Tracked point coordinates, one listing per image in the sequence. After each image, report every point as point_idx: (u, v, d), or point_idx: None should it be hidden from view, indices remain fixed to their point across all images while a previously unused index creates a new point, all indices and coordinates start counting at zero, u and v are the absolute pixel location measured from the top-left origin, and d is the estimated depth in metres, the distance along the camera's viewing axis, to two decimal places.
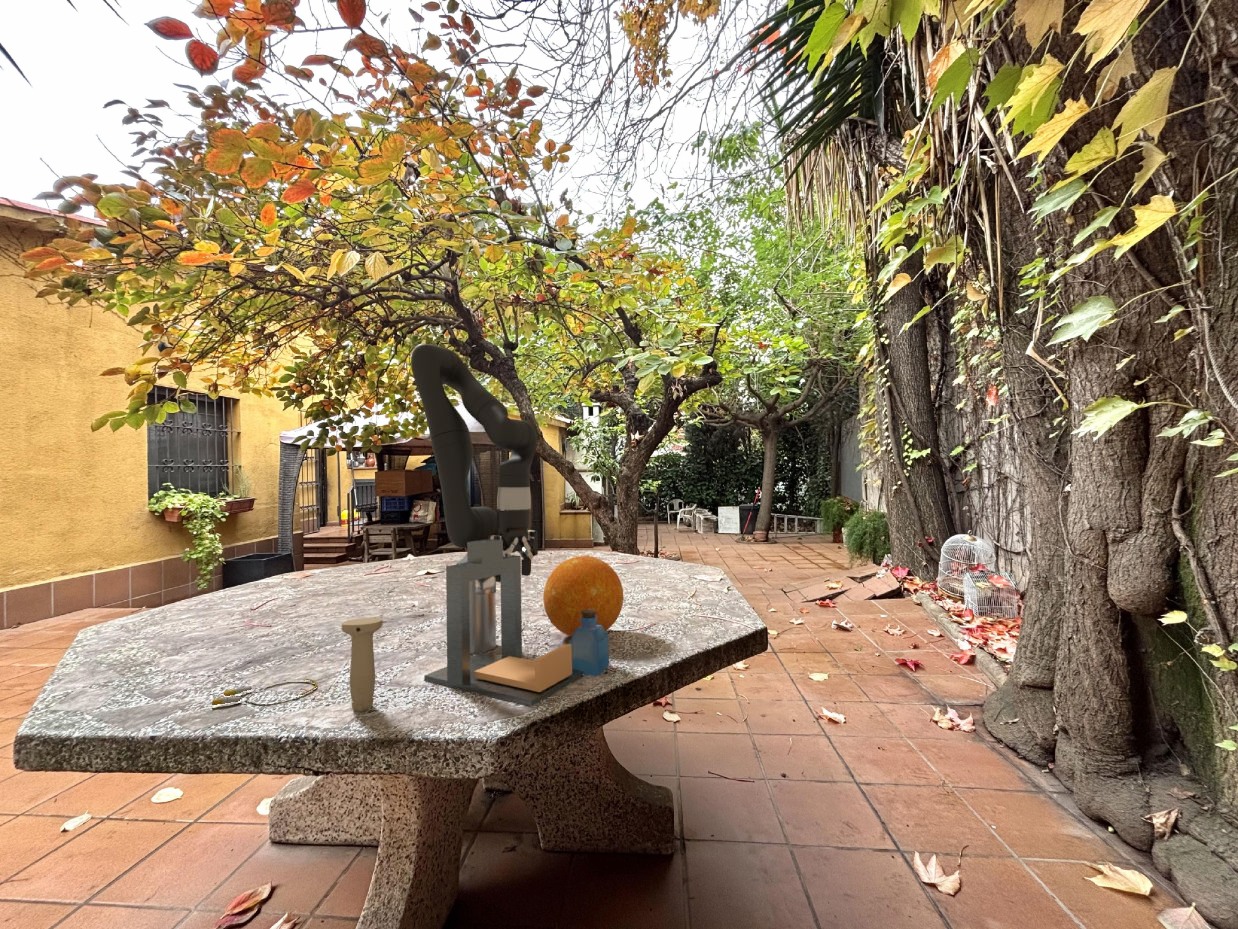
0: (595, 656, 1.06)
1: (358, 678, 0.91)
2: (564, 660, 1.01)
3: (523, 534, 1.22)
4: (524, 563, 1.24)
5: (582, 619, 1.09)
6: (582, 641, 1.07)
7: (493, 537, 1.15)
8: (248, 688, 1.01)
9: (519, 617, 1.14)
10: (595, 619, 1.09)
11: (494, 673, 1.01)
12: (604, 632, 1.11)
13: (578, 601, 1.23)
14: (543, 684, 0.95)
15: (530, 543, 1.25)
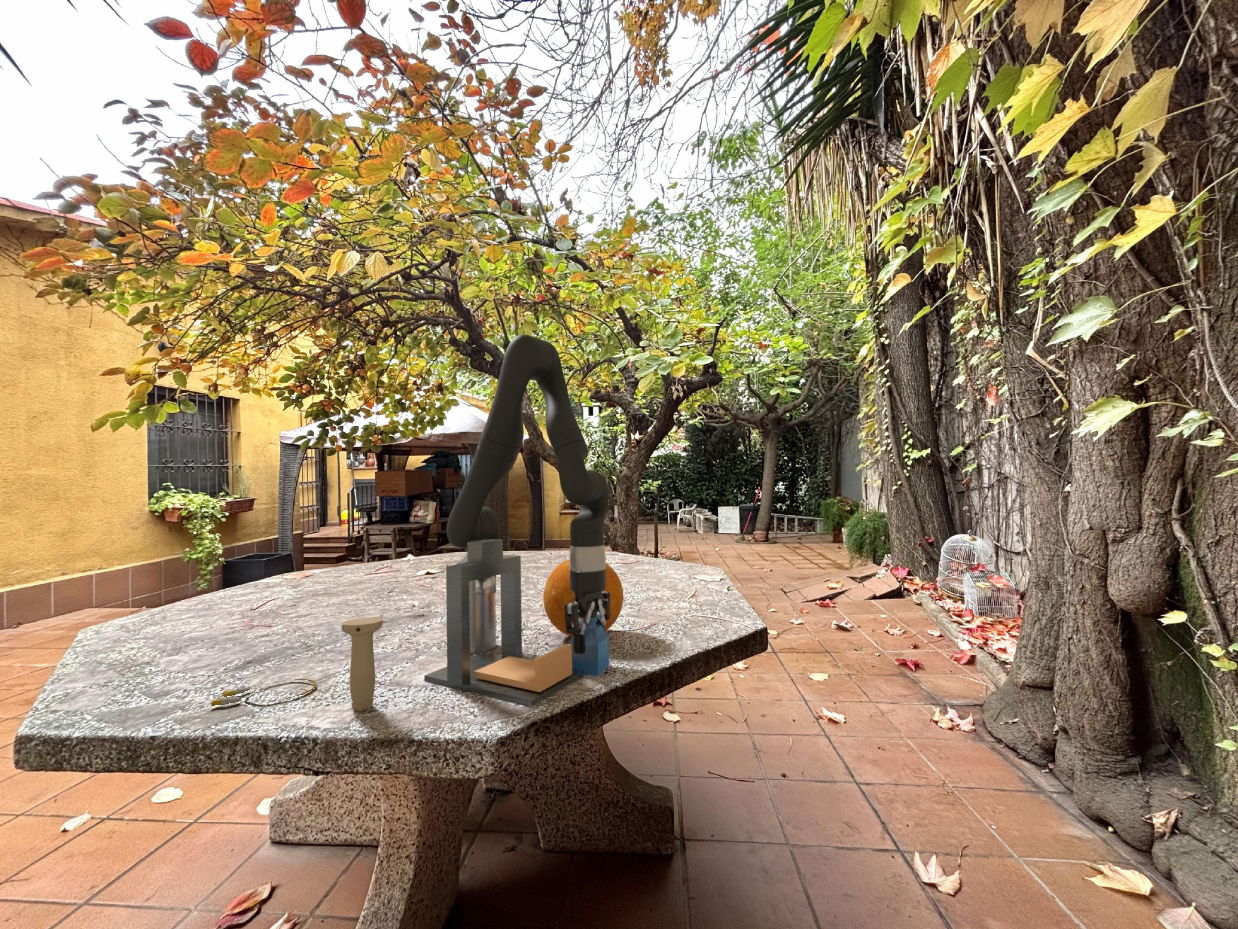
0: (595, 656, 1.06)
1: (358, 678, 0.91)
2: (564, 660, 1.01)
3: (598, 596, 1.11)
4: None
5: None
6: None
7: (570, 606, 1.04)
8: (247, 689, 1.00)
9: (519, 617, 1.14)
10: (595, 619, 1.09)
11: (494, 673, 1.01)
12: (604, 632, 1.11)
13: None
14: (543, 684, 0.95)
15: (602, 606, 1.15)
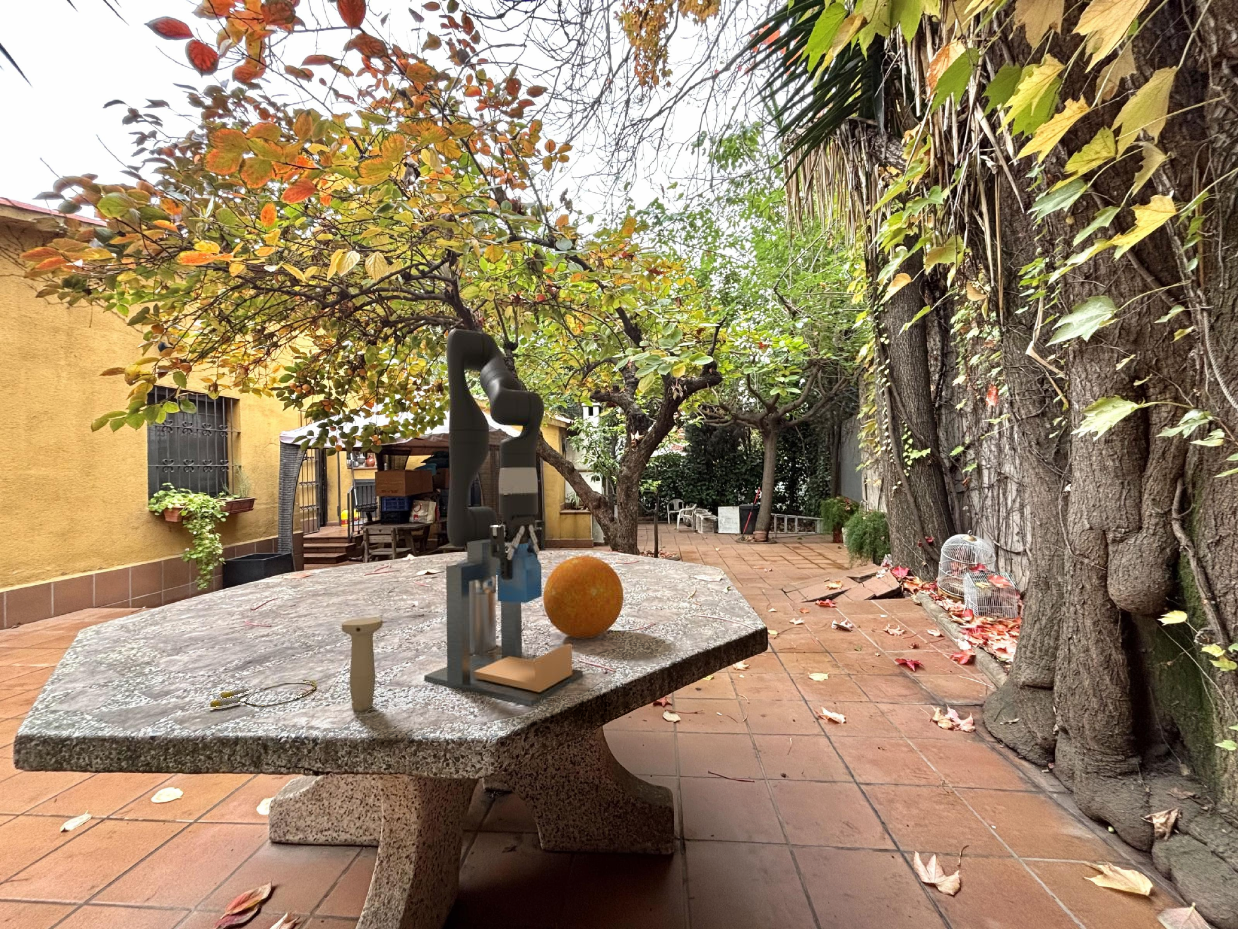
0: (523, 582, 1.00)
1: (358, 678, 0.91)
2: (564, 660, 1.01)
3: (530, 522, 1.05)
4: None
5: None
6: None
7: (496, 528, 0.98)
8: (245, 690, 1.00)
9: (519, 617, 1.14)
10: (525, 545, 1.03)
11: (494, 673, 1.01)
12: (536, 560, 1.05)
13: (578, 601, 1.23)
14: (543, 684, 0.95)
15: (536, 535, 1.09)
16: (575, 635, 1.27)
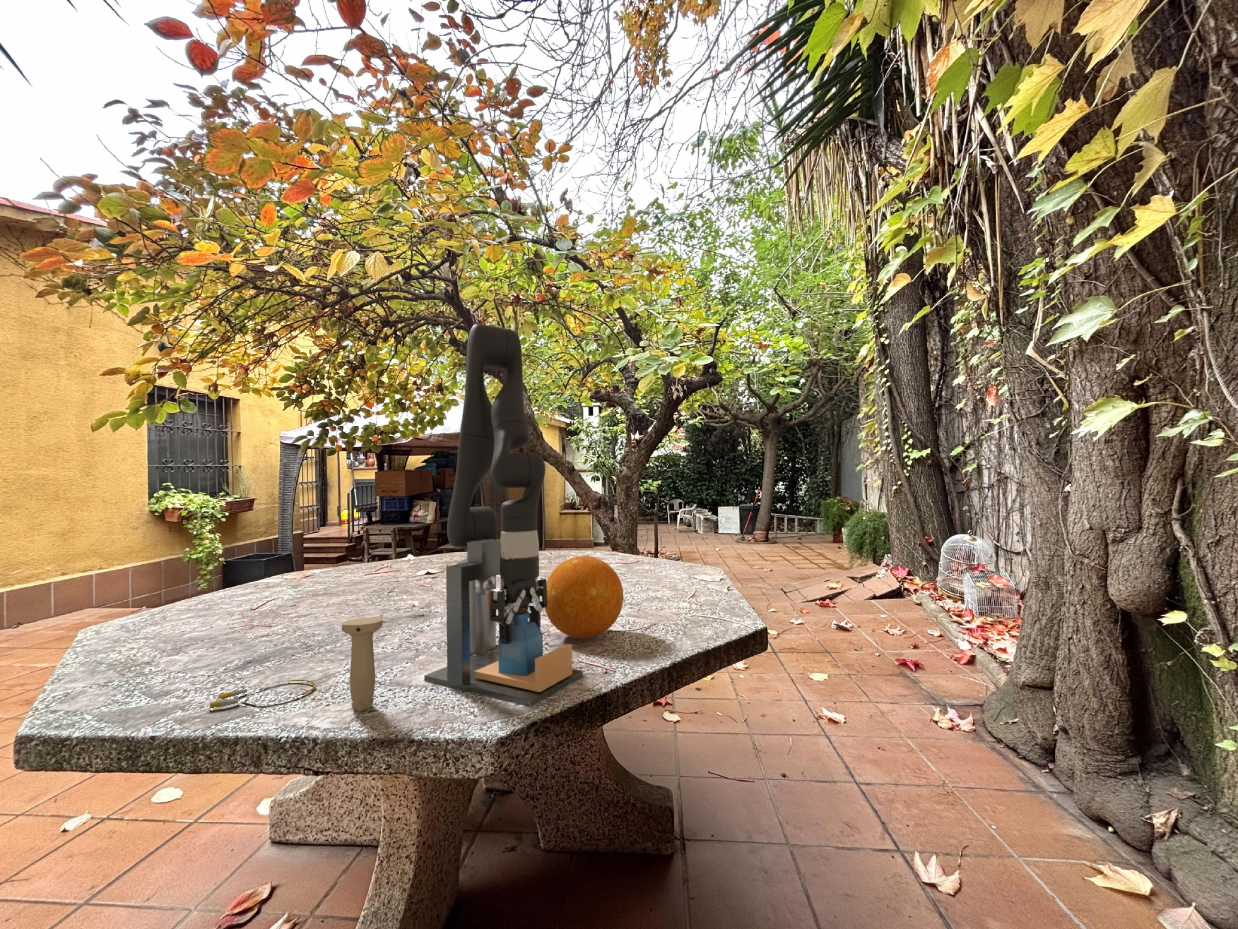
0: (524, 655, 1.00)
1: (358, 678, 0.91)
2: (564, 660, 1.01)
3: (531, 584, 1.05)
4: (532, 617, 1.07)
5: None
6: None
7: (497, 592, 0.98)
8: (244, 690, 0.99)
9: None
10: (526, 615, 1.03)
11: (494, 673, 1.01)
12: (537, 630, 1.04)
13: (578, 601, 1.23)
14: (543, 684, 0.95)
15: (538, 593, 1.09)
16: (575, 635, 1.27)
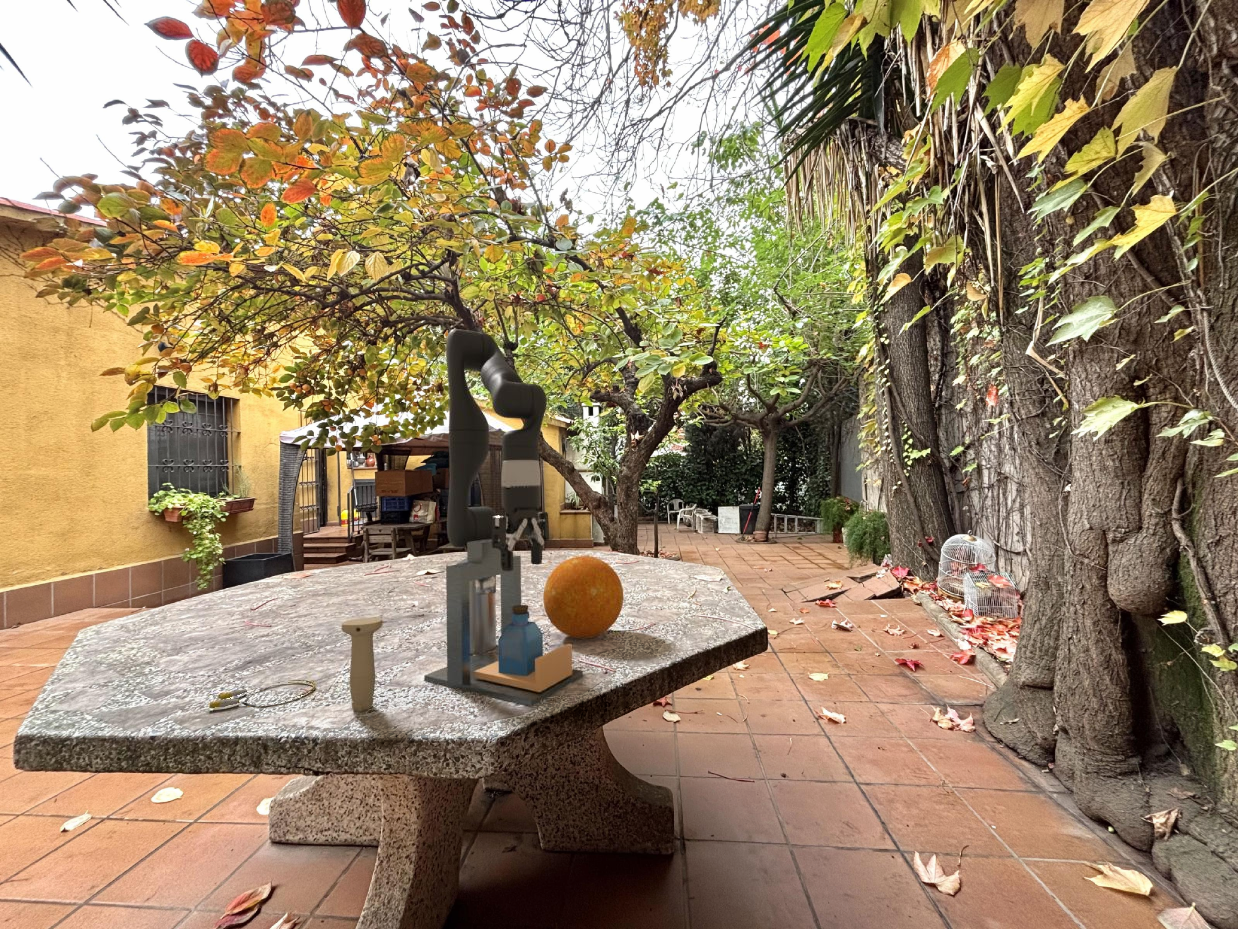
0: (524, 655, 1.00)
1: (358, 678, 0.91)
2: (564, 660, 1.01)
3: (532, 515, 1.05)
4: (534, 550, 1.07)
5: (512, 615, 1.02)
6: (511, 639, 1.01)
7: (498, 518, 0.98)
8: (243, 691, 0.99)
9: None
10: (526, 615, 1.03)
11: (494, 673, 1.01)
12: (537, 630, 1.04)
13: (578, 601, 1.23)
14: (543, 684, 0.95)
15: (540, 527, 1.09)
16: (575, 635, 1.27)
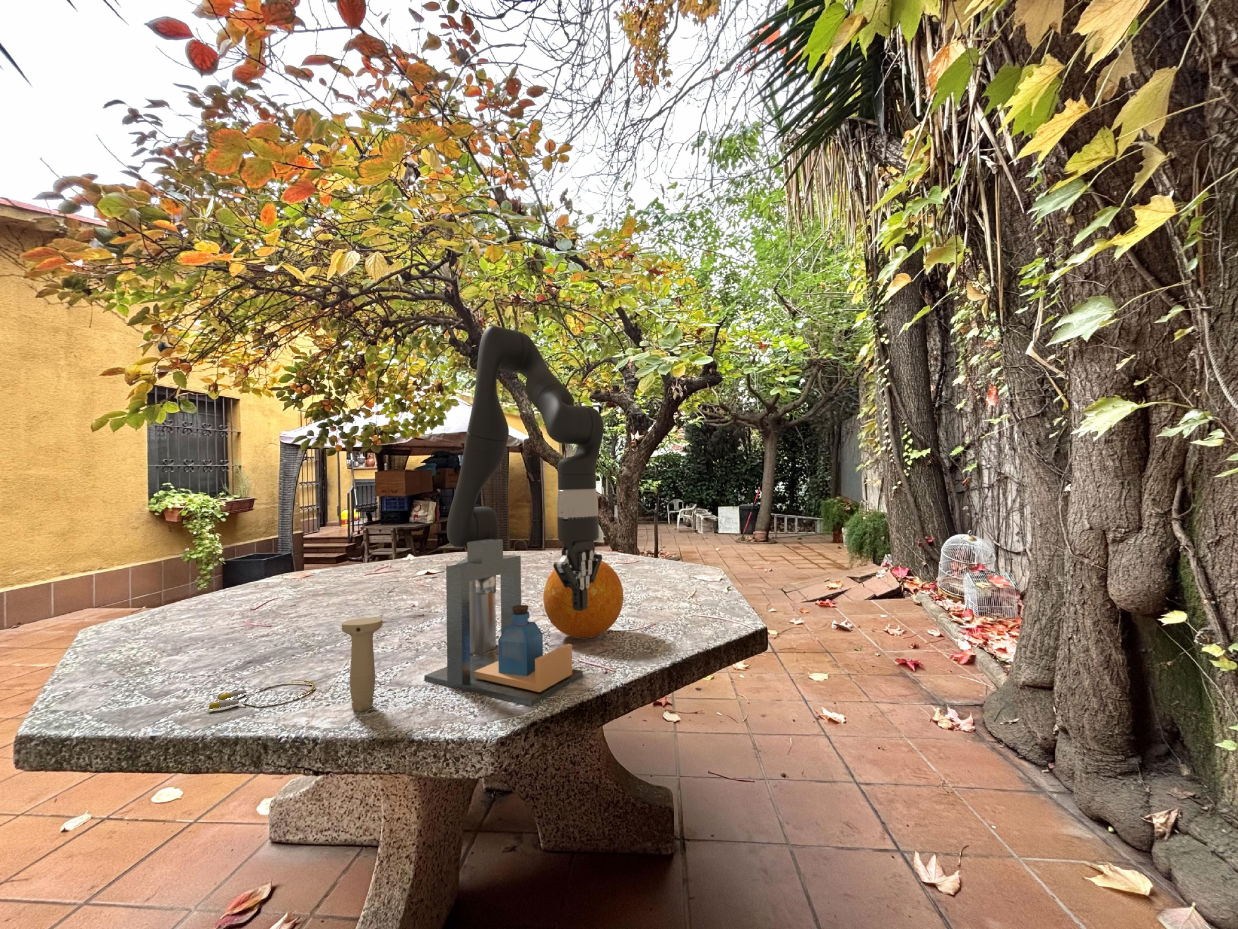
0: (524, 655, 1.00)
1: (358, 678, 0.91)
2: (564, 660, 1.01)
3: (589, 547, 0.98)
4: None
5: (512, 615, 1.02)
6: (511, 639, 1.01)
7: (560, 567, 0.92)
8: (242, 691, 0.99)
9: None
10: (526, 616, 1.03)
11: (494, 673, 1.01)
12: (537, 630, 1.04)
13: None
14: (543, 684, 0.95)
15: None
16: (575, 635, 1.27)
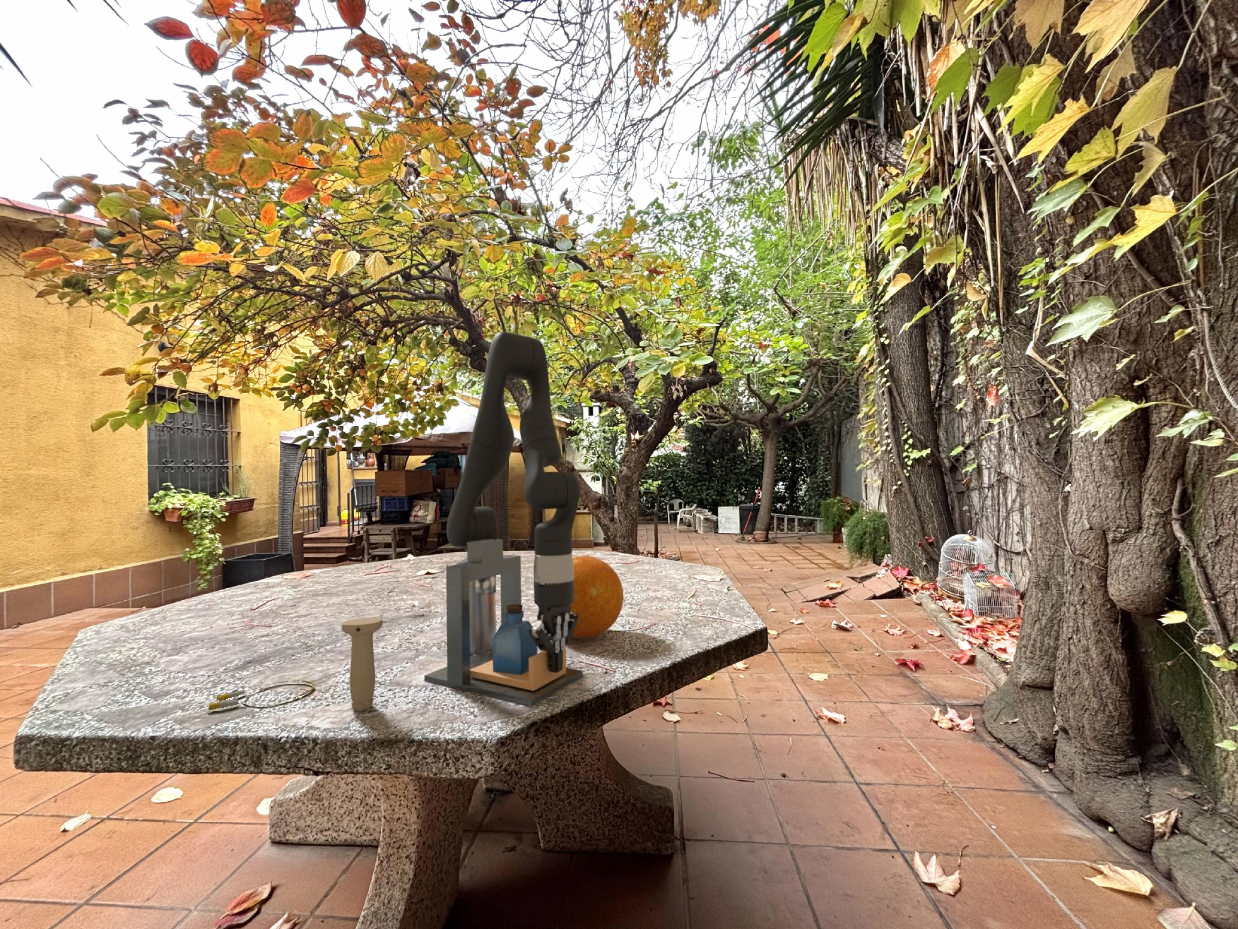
0: (518, 654, 1.00)
1: (358, 678, 0.91)
2: None
3: (565, 610, 1.01)
4: None
5: (507, 615, 1.03)
6: (505, 638, 1.01)
7: (535, 633, 0.94)
8: (242, 692, 0.99)
9: None
10: (520, 615, 1.03)
11: (488, 672, 1.02)
12: None
13: (578, 601, 1.23)
14: (537, 683, 0.96)
15: None
16: (575, 635, 1.27)
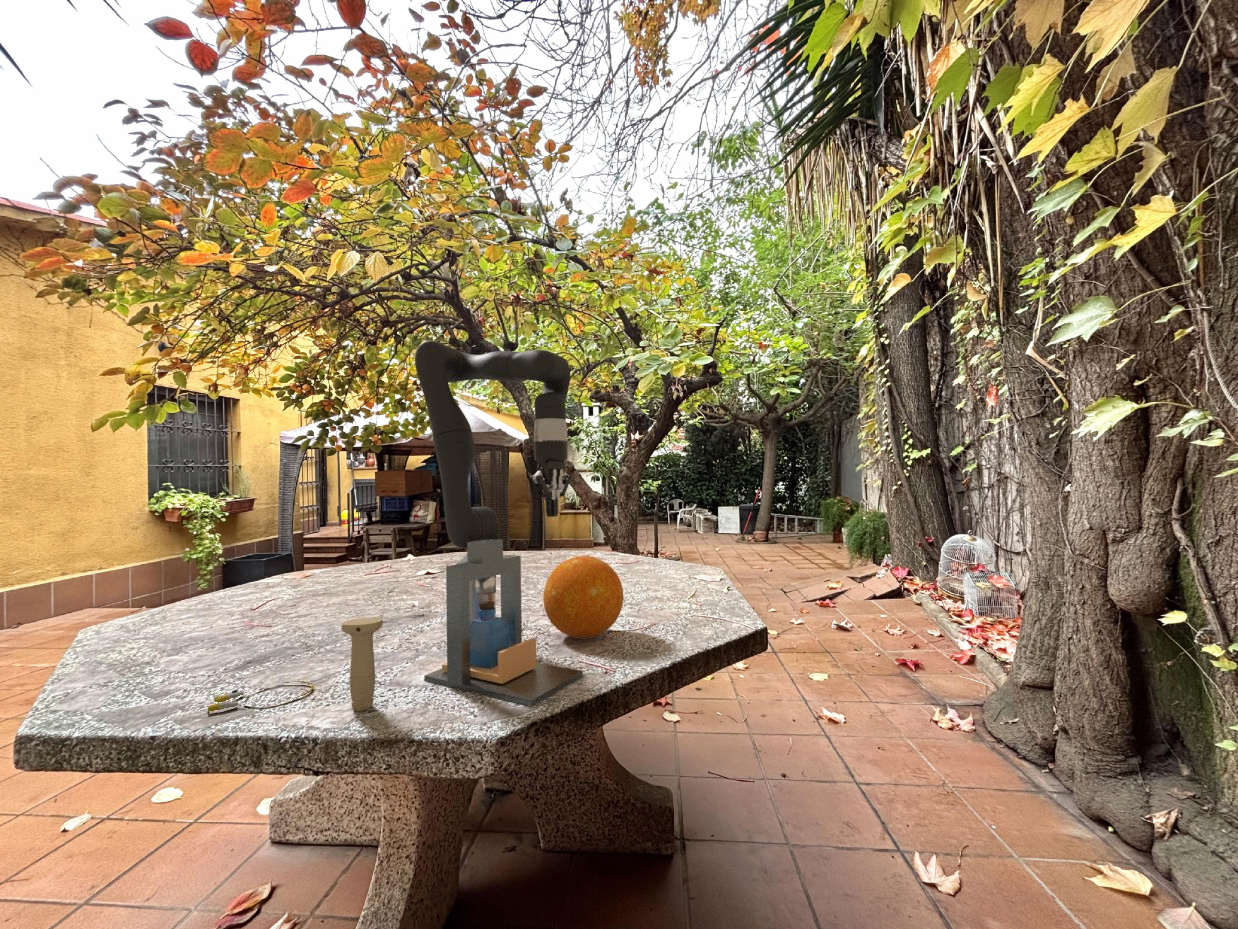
0: (489, 648, 1.04)
1: (358, 678, 0.91)
2: (527, 654, 1.06)
3: (560, 467, 1.22)
4: None
5: (479, 611, 1.07)
6: (477, 633, 1.05)
7: (535, 478, 1.15)
8: (239, 693, 0.98)
9: (519, 617, 1.14)
10: (492, 611, 1.07)
11: None
12: (503, 625, 1.09)
13: (578, 601, 1.23)
14: (506, 676, 1.00)
15: None
16: (575, 635, 1.27)
